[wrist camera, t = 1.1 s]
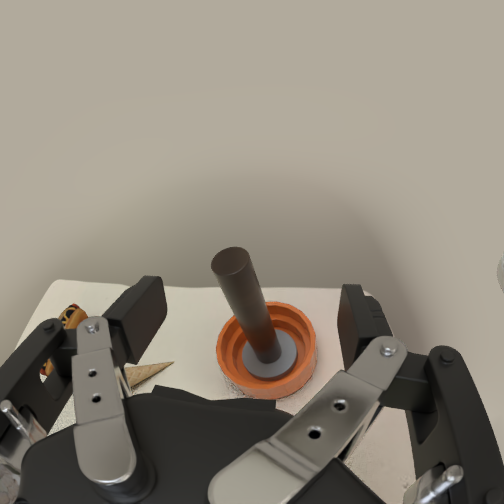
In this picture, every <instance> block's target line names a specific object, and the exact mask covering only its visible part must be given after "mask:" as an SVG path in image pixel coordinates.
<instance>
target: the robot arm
mask: <svg viewBox="0 0 504 504" xmlns="http://www.w3.org/2000/svg"><path fill="white" fill-rule="evenodd" d="M166 315H167V302H166V297H165V292H164V287H163V281H162V279H161V277H159V276H143V278H142V279H141V280H140V281H139V282H138V283H137V284H136V285H134V286H132V287H130V288H128V289H127V290H125V291H124V292H123V293H122V294H121V296H120V297H119V298H118V299H117V300H116V301H115V302H114V303H113V304H112V305H111V306H110V307H109V309H108V310H107V311H106V312H105V313H104V314H103V315H102V316H101V317H100V316H94V317H90V318H87V319H85V320H83V321H82V322H81V323H80V324H79V325H78V326H77V328H74V329H65V328H64V325H63V323H62V321H61V320H60V319H57V318H52V319H48V320H45V321H43V322H42V323H40V324H39V325H38V326H37V327H36V328H35V329H34V331H33V332H32V333H31V334H30V335H29V336H28V337H27V338H26V339H25V340H24V341H23V342H22V343H21V345H20V346H19V347H18V348H17V349H16V350H15V351H14V352H13V353H12V355H11V356H10V357H9V358H8V359H7V360H6V361H5V363H4V364H3V365H2V366H1V367H0V463H1V464H2V465H4V466H5V467H6V468H7V469H8V470H9V471H10V472H12V473H13V474H16V475H20V485H19V490H18V494H17V498H16V500H15V502H14V503H13V504H386V503H385V502H384V501H383V500H382V499H380V498H379V497H378V496H377V495H376V494H375V493H374V492H373V491H372V490H371V489H370V488H369V487H368V486H366V485H365V484H364V483H363V482H362V481H361V480H360V479H359V478H358V477H357V476H356V475H355V474H354V473H353V472H352V471H351V470H350V469H349V468H348V467H347V466H346V465H345V463H346V461H347V460H348V459H349V458H350V456H351V455H352V454H353V452H354V451H355V449H356V448H357V446H358V445H359V443H360V442H361V440H362V439H363V437H364V436H365V435H366V433H367V432H368V430H369V429H370V428H371V426H372V425H373V423H374V422H375V420H376V419H377V417H378V416H379V414H380V413H381V411H382V410H383V408H384V407H391V408H397V409H403V410H405V413H406V418H407V423H408V429H409V434H410V440H411V446H412V453H413V459H414V467H415V475H416V482H414V483H413V484H412V485H411V486H410V487H409V488H408V489H407V491H406V492H405V494H404V497H403V504H504V465H503V461H502V458H501V454H500V451H499V447H498V445H497V441H496V438H495V435H494V432H493V429H492V427H491V424H490V421H489V418H488V416H487V413H486V410H485V408H484V405H483V403H482V400H481V398H480V395H479V393H478V391H477V388H476V386H475V384H474V382H473V379H472V377H471V375H470V373H469V370H468V368H467V366H466V364H465V362H464V360H463V358H462V356H461V354H460V353H459V352H458V351H456V350H455V349H453V348H451V347H449V346H436V347H434V348H433V349H431V351H430V353H429V355H428V356H426V355H420V354H414V353H411V352H408V349H407V347H406V345H405V344H404V343H403V342H402V341H401V340H399V339H397V338H395V337H393V334H392V332H391V330H390V327H389V325H388V322H387V320H386V318H385V315H384V313H383V311H382V308H381V306H380V304H379V302H378V301H377V300H376V299H374V298H373V297H372V296H365V295H364V292H363V290H362V287H361V285H359V284H353V285H352V284H343V286H342V290H341V297H340V304H339V311H338V319H337V327H338V333H339V339H340V345H341V350H342V356H343V362H344V368H345V371H344V370H340V371H338V372H337V373H336V374H335V375H334V376H333V377H332V379H331V380H330V381H329V382H328V383H327V384H326V385H325V386H324V387H323V388H322V389H321V390H320V391H319V392H318V393H317V394H316V395H315V396H314V397H313V398H312V399H311V400H310V401H309V402H308V403H307V404H306V405H305V406H304V407H303V408H302V409H301V410H300V411H299V412H298V413H297V414H296V415H295V416H293V415H291V414H289V413H287V412H284V411H282V410H278V409H275V408H276V400H267V399H253V398H237V399H226V400H208V399H205V398H202V397H199V396H197V395H194V394H192V393H189V392H187V391H184V390H181V389H175V388H169V387H164V386H159V385H155V387H154V389H153V391H152V393H142V394H137V395H133V394H132V391H131V387H130V384H129V381H128V377H127V373H126V370H125V368H124V365H125V364H126V363H130V364H135V365H137V363H138V362H139V360H140V358H141V357H142V355H143V354H144V352H145V350H146V349H147V347H148V345H149V344H150V342H151V341H152V339H153V337H154V336H155V334H156V333H157V331H158V329H159V328H160V326H161V325H162V323H163V322H164V320H165V318H166ZM48 359H49V360H50V362H51V364H52V365H53V367H54V369H53V370H52V371H51V373H50V374H49V376H48V377H47V378H46V380H45V381H44V382H43V383H42V381H41V379H40V370H41V368H42V367H43V365H44V364H45V363H46V362H47V360H48ZM72 393H73V395H74V406H75V416H76V423H75V424H73V425H71V426H69V427H67V428H65V429H62V430H60V431H58V432H56V433H54V434H51V435H49V436H47V435H48V433H49V432H50V430H51V428H52V426H53V425H54V423H55V421H56V420H57V418H58V416H59V415H60V413H61V411H62V410H63V408H64V406H65V405H66V403H67V401H68V400H69V398H70V397H71V395H72Z"/></svg>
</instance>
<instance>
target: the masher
mask: <svg viewBox="0 0 504 504" xmlns="http://www.w3.org/2000/svg"><path fill="white" fill-rule="evenodd" d="M211 269H212V271H213V273H214V275H215V277H216V279H217V281H218V283H219V285H220V287H221V289H222V291H223V293H224V295H225V297H226V299H227V301H228V303H229V305H230V307H231V309H232V311H233V313H234V315H235V317H236V319H237V321H238V323H239V325H240V327H241V328H242V330H243V332H244V334H245V336H246V338H247V340H248V341H247V342H246V344H245V346H244V348H243V351H242V360H243V364H244V366H245V367H246V369H247V370H248V372H249V373H250V374H251V375H252V376H253V377H255V378H256V379H259V380H262V381H275V380H279V379H281V378H283V377H285V376H287V375H288V374H289V373H290V372H291V371H292V370H293V368H294V367H295V365H296V362H297V358H298V352H297V348H296V344H295V342H294V340H293V339H292V337H291V336H290V335H289V334H287V333H286V332H284V331H281V330H277V329H274V326H273V323H272V320H271V317H270V314H269V311H268V309H267V306H266V303H265V300H264V297H263V294H262V291H261V288H260V285H259V282H258V280H257V277H256V274H255V271H254V268H253V265H252V262H251V259H250V256H249V253H248V252H247V251H246V250H245V249H243V248H241V247H230V248H226V249H224V250H222V251H220V252H219V253H217V254H216V255H215V257H214V258H213V260H212V263H211Z"/></svg>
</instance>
